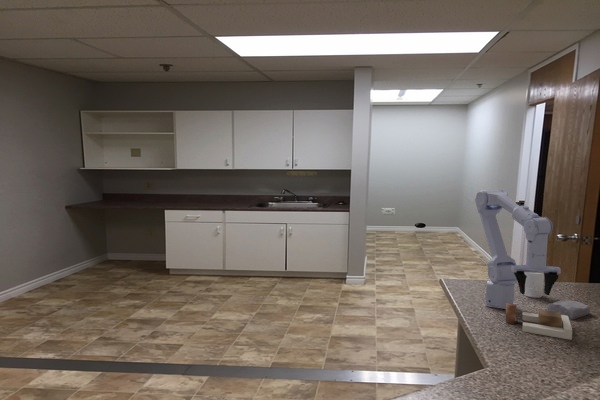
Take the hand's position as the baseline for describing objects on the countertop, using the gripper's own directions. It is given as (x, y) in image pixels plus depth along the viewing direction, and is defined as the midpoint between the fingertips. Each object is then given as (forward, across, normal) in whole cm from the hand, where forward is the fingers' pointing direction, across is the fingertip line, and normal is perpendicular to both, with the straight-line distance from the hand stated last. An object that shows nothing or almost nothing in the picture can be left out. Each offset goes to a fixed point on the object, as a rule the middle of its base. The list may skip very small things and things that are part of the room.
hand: (534, 293), depth 134 cm
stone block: (+10, +16, +11) cm, 21 cm away
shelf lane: (+10, +1, -5) cm, 11 cm away
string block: (+10, -2, -4) cm, 11 cm away
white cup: (+10, +11, +29) cm, 32 cm away
